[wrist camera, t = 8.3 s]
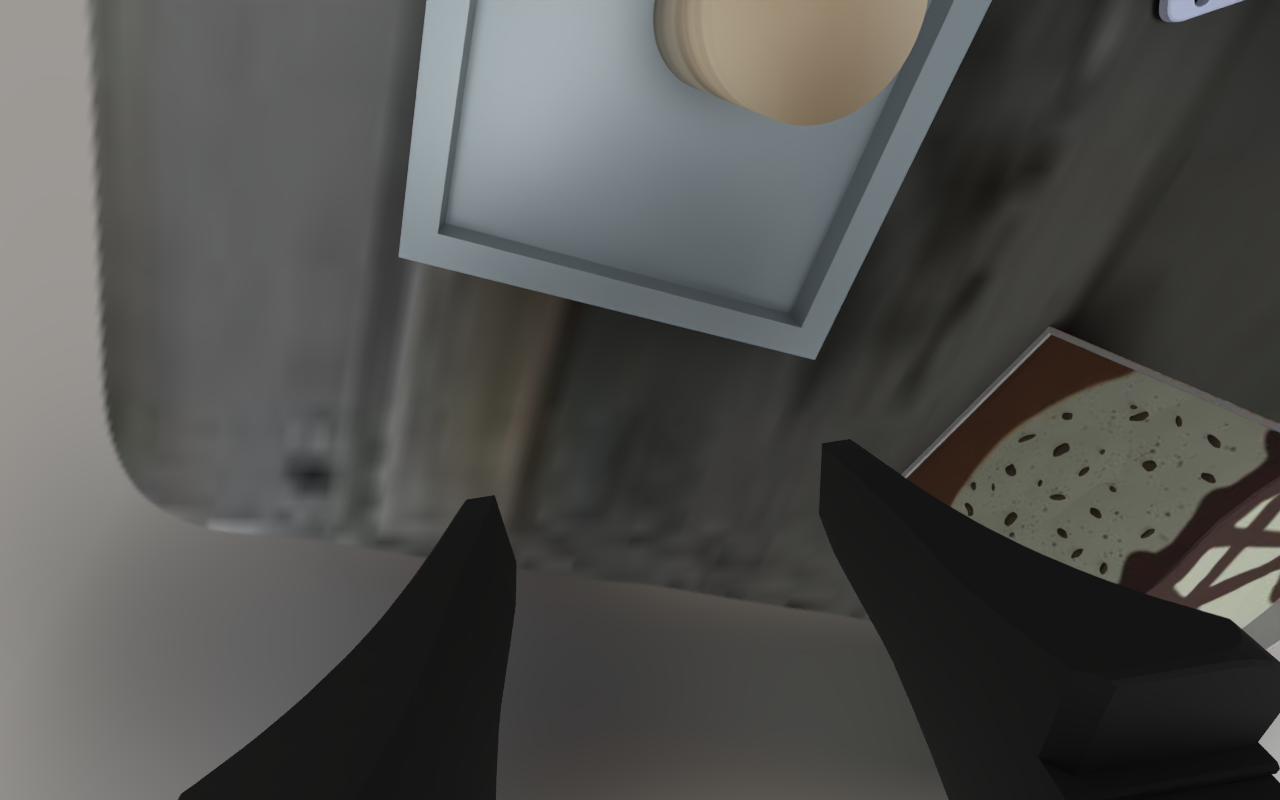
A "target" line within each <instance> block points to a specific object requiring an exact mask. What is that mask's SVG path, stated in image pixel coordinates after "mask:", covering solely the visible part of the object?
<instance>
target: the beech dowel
mask: <svg viewBox="0 0 1280 800" xmlns="http://www.w3.org/2000/svg"><path fill="white" fill-rule="evenodd" d="M927 3H928V0H655V4H654V11H653V28H654V35H655V40H656V43H657V47H658V50H659V52H660V55H661V57H662V59H663V60H664V62H665V64H666V65H667V67H668V68H669V69H670V71H671V72H672V73H673V74H674V75H675V76H676V77H677V78H678V79H680V80H681V81H682V82H684V83H685V84H687V85H689V86H691V87H693V88H696V89H698V90H701V91H703V92H706V93H708V94H711V95H713V96H716V97H718V98H721V99H723V100H726V101H728V102H731V103H733V104H736V105H738V106H741V107H743V108H746V109H748V110H751V111H753V112H756V113H758V114H761V115H763V116H766V117H768V118H771V119H773V120H776V121H778V122H781V123H786V124H790V125H799V126H810V125H820V124H824V123H829V122H832V121H835V120H838V119H841V118H843V117H845V116H847V115H849V114H851V113H853V112H855V111H857V110H858V109H860V108H861V107H863V106H864V105H866V104H867V103H869V102H870V101H871V100H872V99H873V98H874V97H876V96H877V95H878V94H879V93H880V92H881V91H882V90H883V89H884V88H885V87H886V86H887V85H888V84H889V83H890V82H891V80H892V79H893V78H894V76H895V75H896V74H897V72H898V71H899V70H900V68H901V67H902V65H903V64H904V62H905V60H906V59H907V57H908V55H909V54H910V52H911V50H912V48H913V46H914V43H915V41H916V39H917V37H918V34H919V31H920V29H921V26H922V23H923V19H924V16H925V12H926V8H927Z"/></svg>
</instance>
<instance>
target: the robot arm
mask: <svg viewBox="0 0 1280 800" xmlns="http://www.w3.org/2000/svg"><path fill="white" fill-rule="evenodd" d="M1240 1H1243V0H1198V1H1197V2H1196V3H1195V2H1194V0H1160V4H1159V16H1160V18H1161V19H1162V20H1163V21H1165V22H1180V21H1184V20H1187V19H1190V18H1193V17H1196V16H1199V15H1202V14H1205V13H1208V12H1211V11H1214V10H1217V9H1220V8H1223V7H1226V6H1229V5H1232V4H1235V3H1238V2H1240ZM819 515H820V518H821V520H822V523H823V526H824V528H825V531H826V534H827V536H828V539H829V541H830V544H831V546H832V549H833V551H834V554H835V556H836V557H837V559H838V561H839V563H840V565H841V567H842V569H843V571H844V572H845V574H846V576H847V578H848V580H849V582H850V583H851V585H852V587H853V589H854V591H855V592H856V594H857V596H858V598H859V600H860V601H861V603H862V605H863V607H864V609H865V610H866V612H867V614H868V616H869V618H870V619H871V621H872V623H873V625H874V627H875V628H876V630H877V632H878V634H879V636H880V637H881V639H882V641H883V643H884V645H885V647H886V649H887V651H888V653H889V655H890V657H891V659H892V661H893V663H894V665H895V668H896V670H897V672H898V674H899V677H900V679H901V682H902V684H903V686H904V689H905V691H906V693H907V696H908V698H909V700H910V703H911V705H912V707H913V710H914V712H915V715H916V717H917V720H918V722H919V725H920V727H921V730H922V732H923V735H924V737H925V740H926V742H927V744H928V747H929V749H930V752H931V754H932V757H933V759H934V762H935V765H936V767H937V770H938V773H939V775H940V778H941V781H942V783H943V786H944V788H945V791H946V794H947V796H948V799H949V800H1280V783H1279V782H1278V781H1277V780H1276V779H1275V777H1274V776H1273V775H1272V774H1276V773H1277V772H1278V771H1279V769H1280V768H1279V765H1278V762H1277V761H1276V760H1275V759H1274V758H1273V757H1272V756H1271V755H1270V754H1269V753H1268V752H1267V751H1266V750H1265V749H1264V748H1263V747H1262V746H1261V745H1260V744H1259V743H1258V741H1259V740H1260V739H1261V737H1262V736H1263V735H1264V733H1265V732H1266V731H1267V729H1268V728H1269V727H1270V725H1271V724H1272V723H1273V721H1274V720H1275V719H1276V717H1277V716H1278V715H1279V713H1280V662H1279V661H1278V660H1277V659H1275V658H1274V657H1273V656H1272V655H1271V654H1270V653H1268V651H1266V650H1265V649H1264V648H1263V647H1262V646H1261V645H1260V644H1258V643H1257V642H1256V641H1255V640H1254V639H1253V638H1252V637H1250V636H1249V635H1248V634H1247V633H1246V632H1245V631H1244V630H1243V629H1241V628H1240V627H1239V626H1238V625H1237V624H1235V623H1234V622H1233V621H1232V620H1231V619H1229V618H1225V617H1222V616H1218V615H1215V614H1212V613H1208V612H1205V611H1201V610H1198V609H1194V608H1191V607H1188V606H1184V605H1181V604H1177V603H1174V602H1171V601H1167V600H1164V599H1160V598H1157V597H1154V596H1151V595H1148V594H1145V593H1142V592H1139V591H1136V590H1133V589H1130V588H1128V587H1125V586H1122V585H1119V584H1116V583H1113V582H1110V581H1107V580H1105V579H1102V578H1100V577H1097V576H1094V575H1092V574H1089V573H1086V572H1084V571H1081V570H1079V569H1076V568H1074V567H1071V566H1069V565H1067V564H1064V563H1062V562H1060V561H1057V560H1055V559H1052V558H1050V557H1048V556H1045V555H1043V554H1041V553H1038V552H1036V551H1034V550H1032V549H1030V548H1028V547H1025V546H1023V545H1021V544H1019V543H1017V542H1015V541H1013V540H1011V539H1009V538H1007V537H1005V536H1003V535H1001V534H999V533H997V532H995V531H993V530H991V529H989V528H987V527H985V526H984V525H982V524H980V523H978V522H976V521H974V520H973V519H971V518H969V517H967V516H966V515H964V514H962V513H961V512H959V511H957V510H955V509H954V508H952V507H950V506H949V505H947V504H945V503H944V502H942V501H940V500H939V499H937V498H936V497H934V496H932V495H931V494H929V493H928V492H926V491H925V490H923V489H921V488H920V487H918V486H917V485H915V484H914V483H912V482H911V481H909V480H908V479H906V478H905V477H903V476H902V475H901V474H899V473H898V472H896V471H895V470H893V469H892V468H890V467H889V466H888V465H886V464H885V463H883V462H882V461H880V460H879V459H878V458H876V457H875V456H873V455H872V454H871V453H869V452H868V451H866V450H865V449H863V448H862V447H861V446H859V445H858V444H856V443H855V442H853V441H852V440H850V439H848V440H841V441H835V442H829V443H822V460H821V482H820V505H819ZM515 606H516V560H515V557H514V554H513V551H512V548H511V545H510V542H509V538H508V535H507V532H506V529H505V526H504V523H503V520H502V517H501V514H500V511H499V508H498V504H497V501H496V498H495V495H493V496H487V497H481V498H474V499H468V500H466V501H465V502H464V504H463V505H462V507H461V508H460V510H459V511H458V513H457V514H456V516H455V517H454V519H453V520H452V522H451V523H450V525H449V526H448V528H447V529H446V531H445V532H444V534H443V535H442V537H441V538H440V540H439V541H438V543H437V544H436V546H435V547H434V549H433V550H432V552H431V553H430V555H429V556H428V557H427V559H426V560H425V562H424V563H423V565H422V566H421V567H420V569H419V570H418V572H417V573H416V574H415V576H414V577H413V578H412V580H411V581H410V583H409V584H408V585H407V586H406V588H405V589H404V590H403V592H402V593H401V594H400V595H399V597H398V598H397V599H396V600H395V602H394V603H393V604H392V606H391V607H390V608H389V610H388V611H387V612H386V613H385V614H384V616H383V617H382V618H381V619H380V620H379V621H378V623H377V624H376V625H375V626H374V627H373V628H372V630H371V631H370V632H369V633H368V634H367V635H366V636H365V637H364V638H363V639H362V640H361V642H360V643H359V644H358V645H357V646H356V647H355V648H354V649H353V650H352V651H351V652H350V653H349V654H348V655H347V656H346V657H345V659H343V660H342V661H341V662H340V663H339V664H338V665H337V666H336V667H335V668H334V669H333V670H332V671H331V672H330V673H329V674H328V675H327V676H326V677H325V678H323V680H321V681H320V682H319V683H318V684H317V685H316V686H315V687H314V688H313V689H312V690H311V691H310V692H309V693H308V694H307V695H306V696H305V697H303V698H302V699H301V700H300V701H299V702H298V703H297V704H296V705H294V706H293V707H292V708H291V709H290V710H289V711H287V712H286V713H285V714H284V715H283V716H282V717H280V718H279V719H278V720H277V721H276V722H274V723H273V724H272V725H271V726H270V727H268V728H267V729H266V730H265V731H264V732H262V733H261V734H260V735H259V736H258V737H257V738H255V739H254V740H253V741H251V742H250V743H249V744H247V745H246V746H245V747H244V748H243V749H241V750H240V751H239V752H237V753H236V754H235V755H233V756H232V757H230V758H229V759H228V760H227V761H225V762H224V763H223V764H221V765H220V766H218V767H217V768H216V769H214V770H213V771H212V772H210V773H209V774H208V775H206V776H205V777H204V778H202V779H201V780H200V781H198V782H197V783H196V784H195V785H193V786H192V787H190V788H189V789H187V790H186V791H184V792H183V793H182V794H181V795H180V797H179V799H178V800H496V774H497V754H498V733H499V732H498V731H499V721H500V711H501V703H502V696H503V689H504V682H505V675H506V669H507V662H508V655H509V649H510V641H511V635H512V628H513V620H514V613H515Z"/></svg>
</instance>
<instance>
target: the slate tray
mask: <svg viewBox="0 0 1280 800" xmlns="http://www.w3.org/2000/svg"><path fill="white" fill-rule="evenodd" d="M991 1H992V0H928V3H927V8H926V12H925V16H924V19H923V23H922V26H921V29H920V31H919V34H918V37H917V39H916V41H915V43H914V46H913V48H912V50H911V52H910V54H909V55H908V57H907V59H906V60H905V62H904V64H903V65H902V67H901V68H900V70H899V71H898V72H897V74H896V75H895V76H894V78H893V79H892V80H891V82H890V83H889V84H888V85H887V86H886V87H885V88H884V89H883V90H882V91H881V92H880V93H879V94H878V95H877V96H876V97H874V98H873V99H872V100H871V101H870V102H869V103H867V104H866V105H864V106H863V107H861V108H860V109H858V110H857V111H855V112H853V113H851V114H849V115H847V116H845V117H843V118H841V119H838V120H835V121H832V122H829V123H824V124H820V125H810V126H799V125H790V124H786V123H781V122H778V121H776V120H773V119H771V118H768V117H766V116H763V115H761V114H758V113H756V112H753V111H751V110H748V109H746V108H743V107H741V106H738V105H736V104H733V103H731V102H728V101H726V100H723V99H721V98H718V97H716V96H713V95H711V94H708V93H706V92H703V91H701V90H698V89H696V88H693V87H691V86H689V85H687V84H685V83H684V82H682V81H681V80H680V79H678V78H677V77H676V76H675V75H674V74H673V73H672V72H671V71H670V69H669V68H668V67H667V65H666V64H665V62H664V60H663V59H662V57H661V55H660V52H659V50H658V47H657V43H656V40H655V35H654V28H653V11H654V4H655V0H427V2H426V11H425V20H424V30H423V39H422V48H421V57H420V66H419V75H418V84H417V94H416V103H415V112H414V121H413V130H412V139H411V148H410V158H409V167H408V176H407V185H406V194H405V203H404V212H403V222H402V231H401V240H400V249H399V257H400V258H404V259H408V260H412V261H416V262H420V263H424V264H428V265H432V266H437V267H441V268H445V269H449V270H453V271H457V272H461V273H465V274H469V275H473V276H477V277H481V278H485V279H489V280H493V281H497V282H501V283H505V284H509V285H513V286H518V287H522V288H526V289H530V290H534V291H538V292H542V293H546V294H550V295H554V296H558V297H562V298H566V299H570V300H574V301H578V302H582V303H586V304H590V305H595V306H599V307H603V308H607V309H611V310H615V311H619V312H623V313H627V314H631V315H635V316H639V317H643V318H647V319H651V320H655V321H659V322H663V323H667V324H672V325H676V326H680V327H684V328H688V329H692V330H696V331H700V332H704V333H708V334H712V335H716V336H720V337H724V338H728V339H732V340H736V341H740V342H744V343H748V344H753V345H757V346H761V347H765V348H769V349H773V350H777V351H781V352H785V353H789V354H793V355H797V356H801V357H805V358H809V359H813V360H815V358H816V356H817V354H818V352H819V350H820V348H821V346H822V344H823V342H824V340H825V338H826V336H827V334H828V332H829V330H830V328H831V326H832V324H833V322H834V320H835V318H836V316H837V314H838V312H839V310H840V308H841V306H842V304H843V302H844V300H845V298H846V296H847V293H848V291H849V289H850V287H851V285H852V283H853V281H854V279H855V277H856V275H857V273H858V271H859V269H860V267H861V265H862V263H863V261H864V259H865V257H866V255H867V253H868V251H869V249H870V247H871V245H872V243H873V241H874V239H875V237H876V235H877V233H878V231H879V228H880V226H881V224H882V222H883V220H884V218H885V216H886V214H887V212H888V210H889V208H890V206H891V204H892V202H893V200H894V198H895V196H896V194H897V192H898V190H899V188H900V186H901V184H902V182H903V180H904V178H905V176H906V174H907V172H908V170H909V168H910V165H911V163H912V161H913V159H914V157H915V155H916V153H917V151H918V149H919V147H920V145H921V143H922V141H923V139H924V137H925V135H926V133H927V131H928V129H929V127H930V125H931V123H932V121H933V119H934V117H935V115H936V113H937V111H938V109H939V107H940V105H941V103H942V100H943V98H944V96H945V94H946V92H947V90H948V88H949V86H950V84H951V82H952V80H953V78H954V76H955V74H956V72H957V70H958V68H959V66H960V64H961V62H962V60H963V58H964V56H965V54H966V52H967V50H968V48H969V46H970V44H971V42H972V40H973V38H974V35H975V33H976V31H977V29H978V27H979V25H980V23H981V21H982V19H983V17H984V15H985V13H986V11H987V9H988V7H989V5H990V3H991Z"/></svg>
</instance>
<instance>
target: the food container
mask: <svg viewBox="0 0 1280 800" xmlns="http://www.w3.org/2000/svg"><path fill="white" fill-rule="evenodd" d="M901 475H902V476H903V477H905V478H906V479H908V480H909V481H911V482H912V483H914V484H915V485H917V486H918V487H920V488H921V489H923V490H925V491H926V492H928V493H929V494H931V495H932V496H934V497H936V498H937V499H939V500H940V501H942V502H944V503H945V504H947V505H949V506H950V507H952V508H954V509H955V510H957V511H959V512H961V513H962V514H964V515H966V516H967V517H969V518H971V519H973V520H974V521H976V522H978V523H980V524H982V525H984V526H985V527H987V528H989V529H991V530H993V531H995V532H997V533H999V534H1001V535H1003V536H1005V537H1007V538H1009V539H1011V540H1013V541H1015V542H1017V543H1019V544H1021V545H1023V546H1025V547H1028V548H1030V549H1032V550H1034V551H1036V552H1038V553H1041V554H1043V555H1045V556H1048V557H1050V558H1052V559H1055V560H1057V561H1060V562H1062V563H1064V564H1067V565H1069V566H1071V567H1074V568H1076V569H1079V570H1081V571H1084V572H1086V573H1089V574H1092V575H1094V576H1097V577H1100V578H1102V579H1105V580H1107V581H1110V582H1113V583H1116V584H1119V585H1122V586H1125V587H1128V588H1130V589H1133V590H1136V591H1139V592H1142V593H1145V594H1148V595H1151V596H1154V597H1157V598H1160V599H1164V600H1167V601H1171V602H1174V603H1177V604H1181V605H1184V606H1188V607H1191V608H1194V609H1198V610H1201V611H1205V612H1208V613H1212V614H1215V615H1218V616H1222V617H1225V618H1229V619H1231V620H1232V621H1233V622H1234V623H1235V624H1237V625H1238V626H1239V627H1240V628H1241V629H1243V630H1244V631H1245V632H1246V633H1247V634H1248V635H1249V636H1250V637H1252V638H1253V639H1254V640H1255V641H1256V642H1257V643H1258V644H1260V645H1261V646H1262V647H1263V648H1264V649H1265V650H1266V651H1269V650H1270V649H1272V648H1273V647H1275V646H1276V645H1277V644H1279V643H1280V424H1279V423H1277V422H1275V421H1272V420H1270V419H1267V418H1265V417H1263V416H1260V415H1258V414H1256V413H1253V412H1251V411H1249V410H1246V409H1244V408H1241V407H1239V406H1237V405H1234V404H1232V403H1230V402H1227V401H1225V400H1223V399H1220V398H1218V397H1216V396H1213V395H1211V394H1208V393H1206V392H1204V391H1201V390H1199V389H1197V388H1194V387H1192V386H1190V385H1187V384H1185V383H1183V382H1180V381H1178V380H1175V379H1173V378H1171V377H1168V376H1166V375H1164V374H1161V373H1159V372H1157V371H1154V370H1152V369H1150V368H1147V367H1145V366H1142V365H1140V364H1138V363H1135V362H1133V361H1131V360H1128V359H1126V358H1124V357H1121V356H1119V355H1117V354H1114V353H1112V352H1109V351H1107V350H1105V349H1102V348H1100V347H1098V346H1095V345H1093V344H1091V343H1088V342H1086V341H1084V340H1081V339H1079V338H1076V337H1074V336H1072V335H1069V334H1067V333H1065V332H1062V331H1060V330H1058V329H1055V328H1053V327H1051V326H1049V327H1048V328H1047V329H1046V330H1045V331H1044V332H1043V333H1042V334H1041V335H1040V336H1039V337H1038V338H1037V339H1036V340H1035V341H1034V342H1033V343H1032V344H1031V345H1030V346H1029V347H1028V348H1027V349H1026V350H1025V351H1024V352H1023V353H1022V354H1021V355H1020V356H1019V357H1018V358H1017V359H1016V360H1015V361H1014V362H1013V363H1012V364H1011V365H1010V366H1009V367H1008V368H1007V369H1006V370H1005V371H1004V372H1003V373H1002V374H1001V375H1000V376H999V377H998V378H997V379H996V380H995V381H994V382H993V383H992V384H991V385H990V386H989V387H988V388H987V389H986V390H985V391H984V392H983V393H982V394H981V395H980V396H979V397H978V398H977V399H976V400H975V401H974V402H973V403H972V404H971V405H970V406H969V407H968V408H967V409H966V410H965V411H964V412H963V413H962V414H961V415H960V416H959V417H958V418H957V419H956V420H955V421H954V422H953V423H952V424H951V425H950V426H949V427H948V428H947V429H946V430H945V431H944V432H943V433H942V434H941V435H940V436H939V437H938V438H937V439H936V440H935V441H934V442H933V443H932V444H931V445H930V446H929V447H928V448H927V449H926V450H925V451H924V452H923V453H922V454H921V455H920V456H919V457H918V458H917V459H916V460H915V461H914V462H913V463H912V464H911V465H910V466H909V467H908V468H907V469H906V470H905V471H904V472H903V473H902V474H901Z"/></svg>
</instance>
